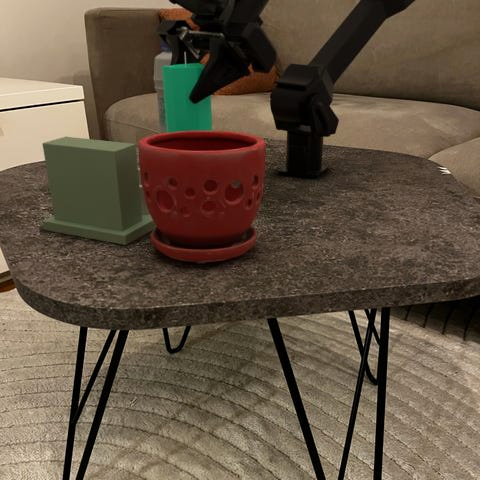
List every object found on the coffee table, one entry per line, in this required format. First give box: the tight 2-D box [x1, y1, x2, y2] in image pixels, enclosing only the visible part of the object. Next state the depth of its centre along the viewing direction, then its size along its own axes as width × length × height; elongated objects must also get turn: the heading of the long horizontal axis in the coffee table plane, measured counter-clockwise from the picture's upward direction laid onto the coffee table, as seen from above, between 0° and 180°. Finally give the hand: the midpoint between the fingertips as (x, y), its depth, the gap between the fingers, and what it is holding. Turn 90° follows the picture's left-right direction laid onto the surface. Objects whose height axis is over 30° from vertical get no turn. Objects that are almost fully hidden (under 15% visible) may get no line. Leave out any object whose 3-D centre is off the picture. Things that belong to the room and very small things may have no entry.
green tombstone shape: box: [42, 136, 157, 246], centre depth 74 cm, size 18×12×10 cm, turn 154°
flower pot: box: [138, 130, 267, 265], centre depth 63 cm, size 13×13×12 cm
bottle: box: [153, 39, 172, 134], centre depth 94 cm, size 7×7×20 cm
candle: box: [162, 52, 213, 133], centre depth 76 cm, size 6×6×12 cm
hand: (178, 98), depth 75 cm, fingers closed on candle, 5 cm apart
